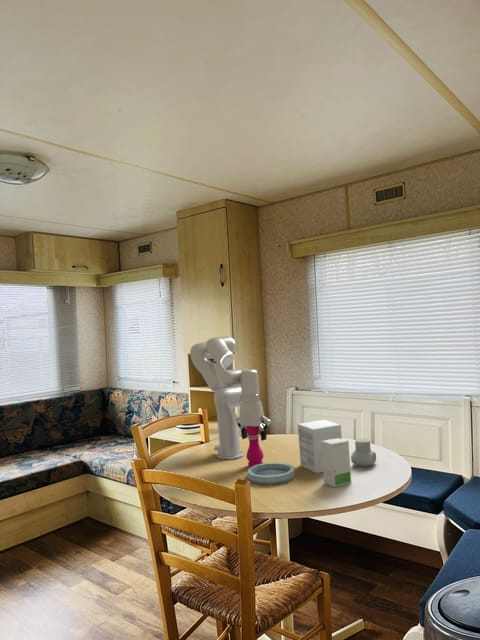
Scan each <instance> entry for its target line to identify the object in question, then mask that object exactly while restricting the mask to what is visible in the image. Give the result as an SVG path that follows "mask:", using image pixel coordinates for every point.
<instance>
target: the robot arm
mask: <svg viewBox="0 0 480 640" xmlns="http://www.w3.org/2000/svg"><path fill="white" fill-rule="evenodd" d="M236 347H237V345H236V341H235V340H234V338H232V337H231V336H229V335H228V336H217V337H215V336H214V337H211V338H209V339H208V340H207V341H205V342H198V343H195V344H193V345H192V346H191V347H190V349H189V353H190V355H189V356H190V359H191V362H192V364H193V366H194V367H195V368H196V369H197V371H198V372H199V373H200V374H201V376H202V377H203V379H204V381H205V383H206V385H208V388H209V389H210V390H211V391H212V392H213V393H214V394H213V402H214V406H215V410H216V415H217V416H216V418H217V430H218V443H219V445H215V446H214V447H213V451H216V452H217V454H216V457H217V459H219V460H224V459H225V460H226V459H227V460H236V459H237V460H238V459H239V458H243V456H244V455H245V453H244V452H245V451H243V450H241V441H240V434H241V439H242V440H245V439H248V433H247V432H246V427H247V426H249V427H258V426H259V428H260V432H259V434H260V440H261V441H262V442H263V441H265V440H267V436H268V435H267V430H268V428H269V427H270V424H271V419H269V418H268V417H266V416H265V413H264V407H263V404H262V401H261V398H260V386H259V375H258V374H259V373H258V371H257V370H256V369H250V368H247V367H244V368H236V369H228V370H227V368H228V367H229V366H231V365H232V364H233V361H234V360H235V358H234V357H235V356H234V354H233V353H234V352H235V351H236ZM210 359H213V360H214V362H213V361H211V360H210ZM215 363H216V364H215ZM238 407H240V408H239V416H238V414H237V413H236V412H235V410H234V408H238Z"/></svg>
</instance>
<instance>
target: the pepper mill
mask: <svg viewBox="0 0 480 640" xmlns="http://www.w3.org/2000/svg"><path fill="white" fill-rule="evenodd" d="M246 432H247V439H248V442H249V443H248V444H249V445H248V448H247V451H246V459H247V460H248V462H247V465H248V466H247V467H248V469H249V468H251V467H253V466H255V465H258V464H263V463H264V461H263V459H264V458H265V457H264V456H265V455H264V452H263V449H262V448H261V446H260V442H259V441H260V440H259V439H260V432H261V429H260V428H259V426H258V427H249V426H246Z"/></svg>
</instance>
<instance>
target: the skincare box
mask: <svg viewBox="0 0 480 640" xmlns="http://www.w3.org/2000/svg"><path fill="white" fill-rule="evenodd" d="M321 444H322V458H323V472H322V473H323V483H324V484H325V485H327V486H330V487H332V488H337V487H342V486H344V485H349V484H352V471H351V470H352V469H351V455H350V446H349V445H350V444H349V440H347V439H344V438H342V439H339V438H337V439H329V440H325V441H321Z"/></svg>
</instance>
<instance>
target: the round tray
mask: <svg viewBox="0 0 480 640" xmlns="http://www.w3.org/2000/svg"><path fill="white" fill-rule="evenodd" d="M295 475H296V474H295V466H294V465H291V464H289V463H284V462H278V461H277V462H265V463H264V462H263V464H258V465H255V466H253V467H251V468H249V467H248V469H247V478H248V481H249V483H252V484H254V485H258V486H279V485H285V484H288V483H289V482H292V481H293V480H294V479H295Z"/></svg>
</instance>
